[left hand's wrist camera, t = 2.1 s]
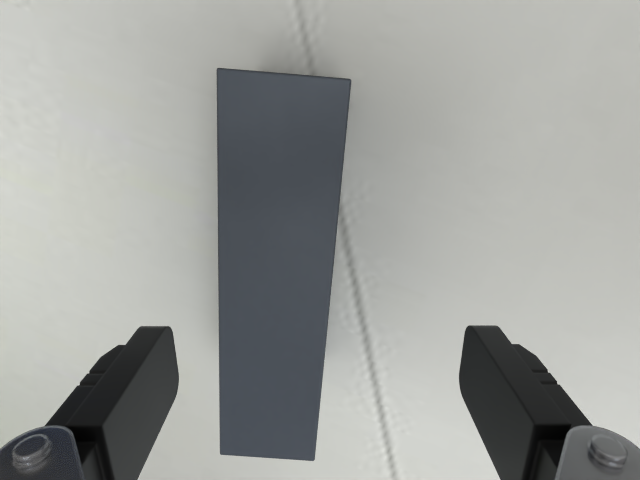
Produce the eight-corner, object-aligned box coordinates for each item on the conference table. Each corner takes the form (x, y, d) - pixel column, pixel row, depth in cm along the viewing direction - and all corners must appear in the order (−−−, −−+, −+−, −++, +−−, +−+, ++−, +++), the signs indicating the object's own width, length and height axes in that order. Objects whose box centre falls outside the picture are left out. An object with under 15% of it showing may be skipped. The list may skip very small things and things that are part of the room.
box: (254, 73, 28) (216, 67, 18) (342, 81, 28) (351, 78, 18) (248, 353, 36) (219, 455, 26) (317, 358, 36) (314, 461, 26)
